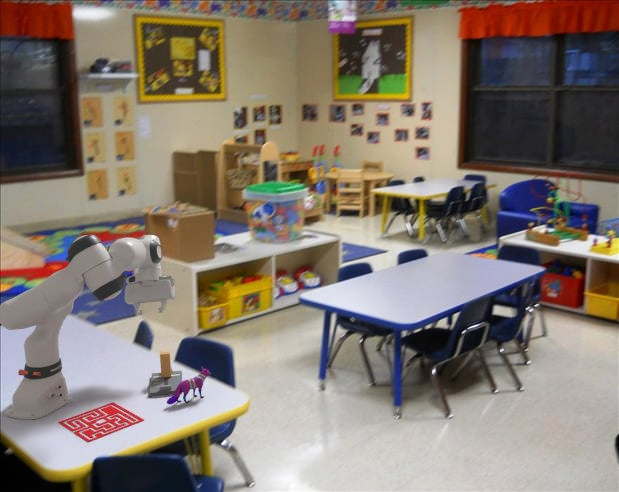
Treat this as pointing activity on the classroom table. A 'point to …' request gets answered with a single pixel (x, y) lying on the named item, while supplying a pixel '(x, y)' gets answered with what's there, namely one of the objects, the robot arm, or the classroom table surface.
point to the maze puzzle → (89, 432)
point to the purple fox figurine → (189, 387)
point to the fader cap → (165, 363)
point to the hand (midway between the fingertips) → (150, 313)
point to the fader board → (165, 383)
